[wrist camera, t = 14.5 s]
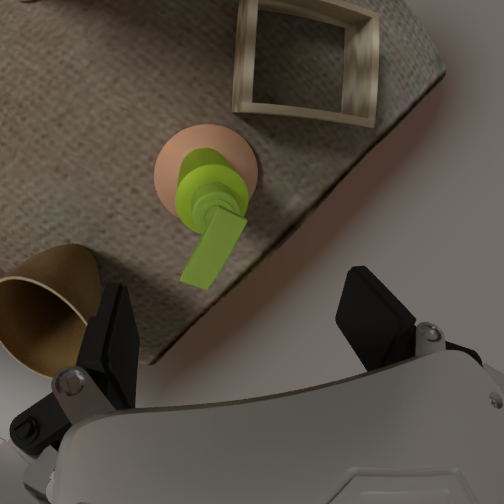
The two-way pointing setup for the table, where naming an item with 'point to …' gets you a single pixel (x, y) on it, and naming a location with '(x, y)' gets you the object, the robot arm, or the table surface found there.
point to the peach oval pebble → (200, 137)
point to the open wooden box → (355, 58)
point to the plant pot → (49, 307)
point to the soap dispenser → (210, 212)
